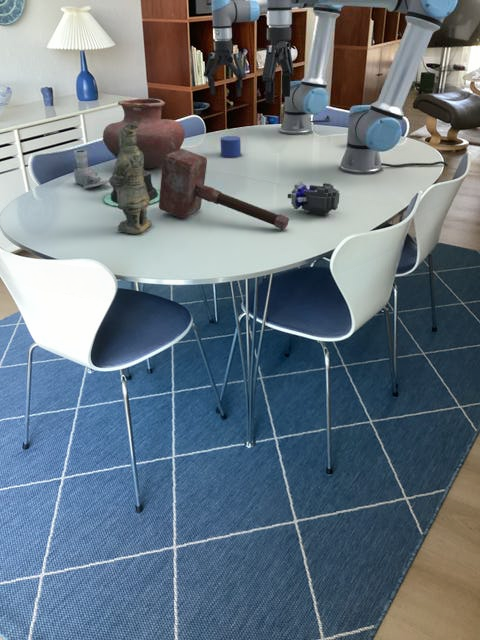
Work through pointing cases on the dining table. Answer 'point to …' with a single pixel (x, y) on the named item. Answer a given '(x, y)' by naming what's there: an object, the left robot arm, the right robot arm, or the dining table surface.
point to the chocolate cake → (152, 192)
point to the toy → (315, 198)
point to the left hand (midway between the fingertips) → (225, 95)
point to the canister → (230, 146)
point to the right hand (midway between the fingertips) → (278, 99)
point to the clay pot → (146, 131)
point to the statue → (131, 182)
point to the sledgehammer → (200, 190)
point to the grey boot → (86, 171)
